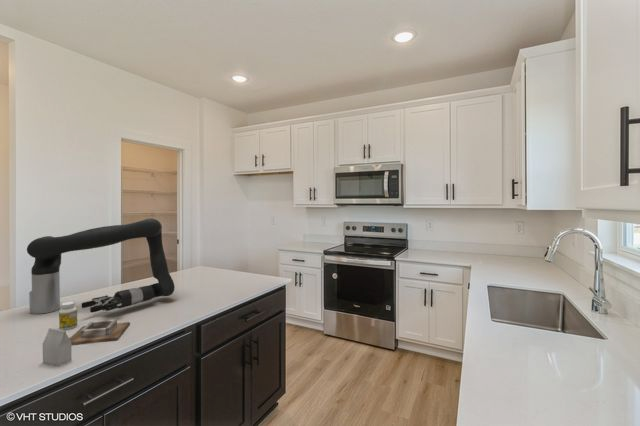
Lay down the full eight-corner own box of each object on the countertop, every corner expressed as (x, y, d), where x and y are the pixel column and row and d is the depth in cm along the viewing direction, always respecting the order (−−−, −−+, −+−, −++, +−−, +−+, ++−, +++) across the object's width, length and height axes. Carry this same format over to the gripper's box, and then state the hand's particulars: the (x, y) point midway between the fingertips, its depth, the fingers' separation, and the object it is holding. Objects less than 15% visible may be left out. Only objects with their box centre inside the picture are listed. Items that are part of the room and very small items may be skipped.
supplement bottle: (80, 325, 119) (80, 301, 118) (65, 331, 114) (65, 306, 113) (71, 323, 120) (70, 300, 120) (55, 329, 115) (55, 304, 115)
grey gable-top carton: (58, 366, 90) (58, 334, 90) (42, 362, 92) (42, 330, 92) (71, 360, 94) (71, 329, 93) (56, 356, 96) (55, 326, 95)
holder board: (64, 345, 102) (64, 335, 102) (83, 328, 116) (82, 319, 116) (117, 340, 107) (117, 330, 107) (129, 324, 121) (129, 316, 120)
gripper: (121, 286, 139) (79, 295, 125) (136, 292, 131) (93, 302, 118) (121, 302, 139) (79, 313, 126) (136, 308, 132) (93, 320, 118)
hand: (86, 307), depth 122 cm, fingers open, 8 cm apart
